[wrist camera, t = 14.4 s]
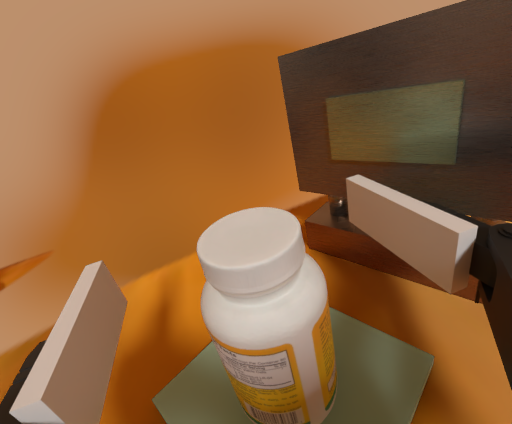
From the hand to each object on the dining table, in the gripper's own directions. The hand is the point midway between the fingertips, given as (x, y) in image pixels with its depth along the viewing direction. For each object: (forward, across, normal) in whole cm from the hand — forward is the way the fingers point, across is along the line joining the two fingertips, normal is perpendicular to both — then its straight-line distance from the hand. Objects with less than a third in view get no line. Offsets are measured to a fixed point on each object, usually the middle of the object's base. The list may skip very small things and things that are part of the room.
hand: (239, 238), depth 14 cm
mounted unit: (+3, +12, -8) cm, 15 cm away
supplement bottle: (-3, 0, -8) cm, 8 cm away
